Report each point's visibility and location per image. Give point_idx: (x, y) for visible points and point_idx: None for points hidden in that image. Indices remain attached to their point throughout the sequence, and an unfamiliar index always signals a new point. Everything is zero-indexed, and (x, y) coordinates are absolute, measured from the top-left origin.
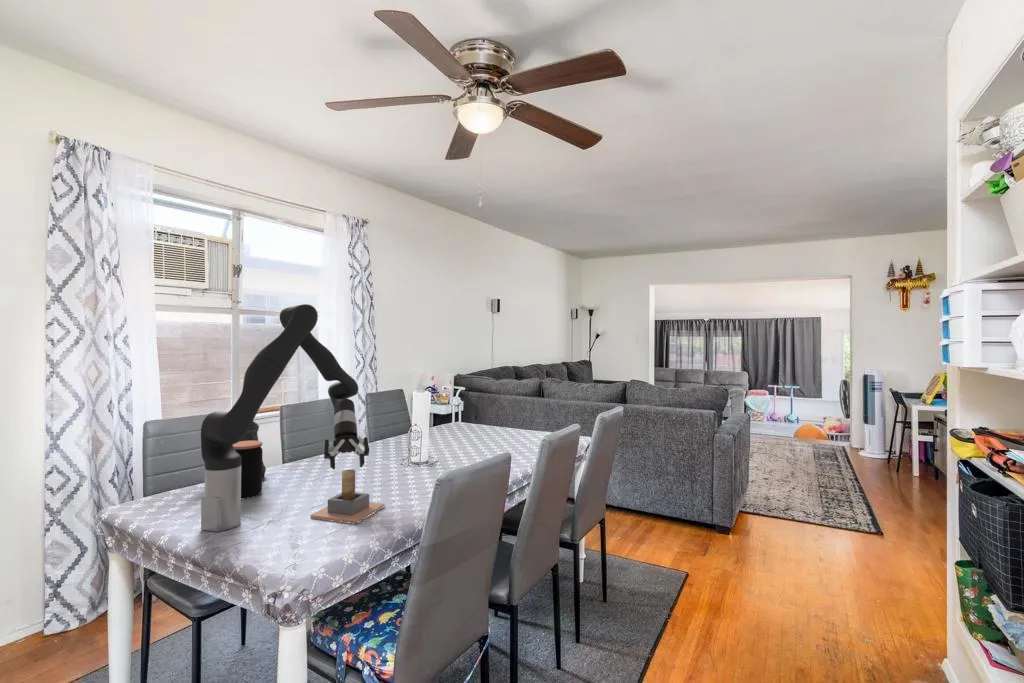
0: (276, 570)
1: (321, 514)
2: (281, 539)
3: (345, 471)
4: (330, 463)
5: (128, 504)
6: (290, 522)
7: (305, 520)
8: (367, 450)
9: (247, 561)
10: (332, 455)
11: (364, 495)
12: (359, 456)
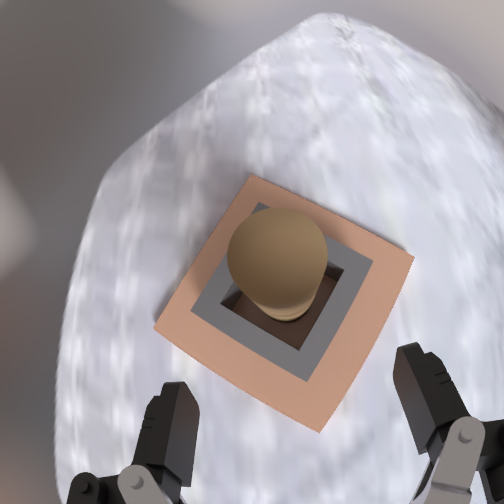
0: (364, 30)
1: (379, 254)
2: (424, 123)
3: (300, 254)
4: (444, 367)
5: None
6: (455, 233)
7: (419, 242)
8: (83, 481)
9: (428, 61)
10: (461, 425)
11: (211, 291)
12: (178, 476)
